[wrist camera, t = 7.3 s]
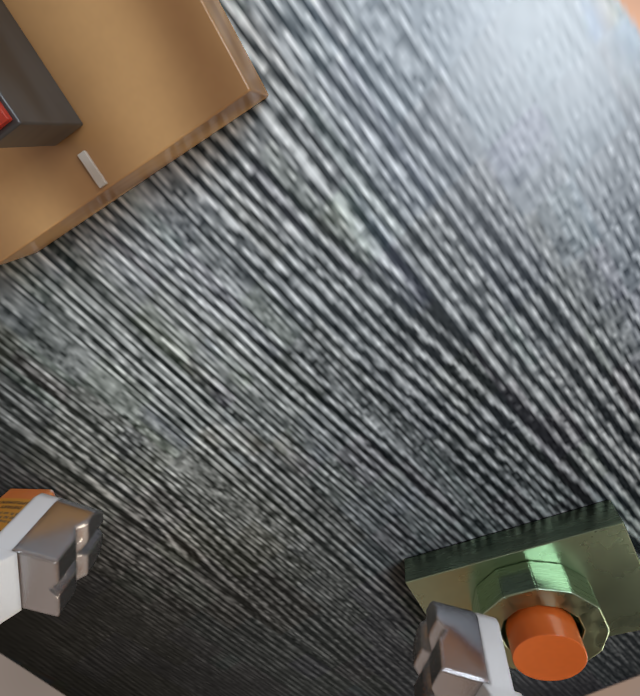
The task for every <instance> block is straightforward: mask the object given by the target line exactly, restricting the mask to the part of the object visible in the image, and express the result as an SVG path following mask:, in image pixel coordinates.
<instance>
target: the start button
mask: <svg viewBox="0 0 640 696" xmlns="http://www.w3.org/2000/svg"><path fill="white" fill-rule="evenodd" d="M505 630H506V634H507V638H508V643H509V647H510V651H511V655H512V659H513V663H514V665H515V666H516V668H517V669H518V670H519V671H520V672H522V673H523V674H525V675H526V676H528V677H531V678H534V679H538V680H544V681H557V680H563V679H567V678H570V677H572V676H575V675H576V674H578V673H579V672H581V671H582V670H583V669H584V667H585V666H586V664H587V660H588V655H587V652H586V649H585V646H584V644H583V641H582V639H581V636H580V633H579V631H578V628H577V625H576V623H575V620H574V619H573V617H572V616H571V615H570V614H569V613H568V612H567V611H565V610H564V609H562V608H558V607H550V606H541V605H536V606H532V607H528V608H524V609H520V610H517V611H516V612H515V613H513V614H512V615H511V616H509V617H508V619H507V621H506V624H505Z"/></svg>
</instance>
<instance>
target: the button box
mask: <svg viewBox="0 0 640 696" xmlns="http://www.w3.org/2000/svg"><path fill="white" fill-rule="evenodd" d="M404 561H405V583H406V584H407V586H408V587H409V589H410V591H411V592H412V594H413V595H414V597H415V598H416V600H417V601H418V603H419V605H420V606H421V608H422V609H423V611H424V612H425V614H426V609H427V608H428V606H429V604H430V603H431V602H432V601H436V602H439V603H443V604H447V605H451V606H455V607H459V608H462V609H466V610H470V611H473V612H476V613H479V614H483V615H487V616H490V617H494V618H496V619H497V621H498V622H499V626H500V631H501V635H502V640H503V644H504V648H505V653H506V657H507V662H508V666H509V667H511V668H513V669H517V668H516V666H515V665H514V663H513V659H512V655H511V651H510V647H509V643H508V638H507V634H506V630H505V624H506V621H507V619H508V617H509V616H511V615H512V614H513V613H515V612H516V611H517V610H520V609H524V608H528V607H532V606H536V605H541V606H550V607H558V608H562V609H564V610H565V611H567V612H568V613H569V614H570V615H571V616H572V617H573V619H574V620H575V623H576V625H577V628H578V631H579V633H580V636H581V639H582V641H583V644H584V646H585V649H586V652H587V655H588V660H589V659H591V658H592V657H594V656H595V655H597V654H598V653H600V652H601V651H602V650H603V647H604V645H605V642H606V640H607V637H608V636H613V635H617V634H622V633H627V632H632V631H637V630H640V561H639V559H638V556H637V554H636V551H635V549H634V547H633V544H632V542H631V539H630V537H629V535H628V532H627V530H626V527H625V525H624V522H623V521H622V519H621V518H620V516H619V514H618V513H617V511H616V509H615V508H614V506H613V504H612V503H611V501H610V500H607V501H603V502H600V503H596V504H593V505H590V506H586V507H583V508H579V509H576V510H572V511H569V512H566V513H562V514H559V515H555V516H552V517H548V518H545V519H541V520H538V521H535V522H531V523H528V524H524V525H521V526H517V527H514V528H511V529H507V530H504V531H500V532H497V533H493V534H490V535H486V536H483V537H480V538H476V539H473V540H469V541H466V542H462V543H459V544H456V545H452V546H449V547H445V548H442V549H438V550H435V551H432V552H428V553H425V554H421V555H418V556H414V557H411V558H407V559H405V560H404ZM588 660H587V661H588Z"/></svg>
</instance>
